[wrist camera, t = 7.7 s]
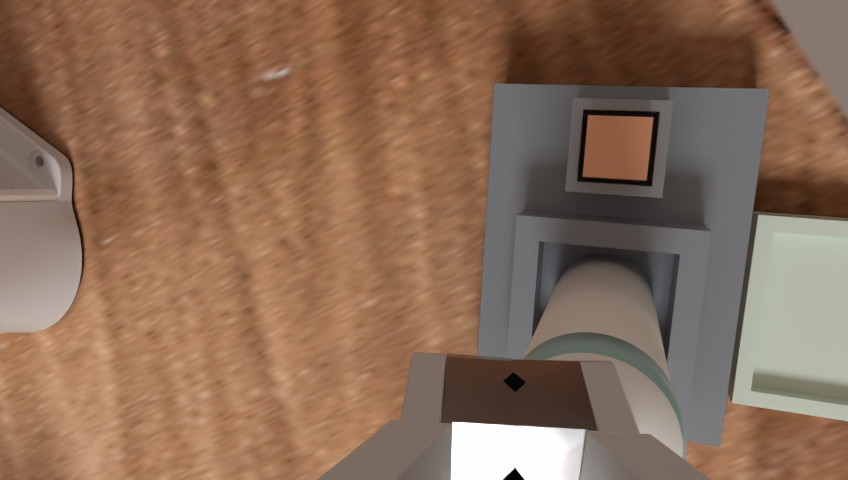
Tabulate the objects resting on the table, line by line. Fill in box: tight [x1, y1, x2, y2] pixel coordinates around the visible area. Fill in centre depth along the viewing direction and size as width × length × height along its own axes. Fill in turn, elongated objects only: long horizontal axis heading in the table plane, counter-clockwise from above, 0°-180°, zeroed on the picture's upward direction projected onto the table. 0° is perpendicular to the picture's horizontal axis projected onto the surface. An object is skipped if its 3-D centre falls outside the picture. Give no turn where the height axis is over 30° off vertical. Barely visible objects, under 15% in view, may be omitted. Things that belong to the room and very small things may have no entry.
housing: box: [477, 84, 770, 447], centre depth 32 cm, size 13×18×6 cm
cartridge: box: [523, 254, 686, 460], centre depth 24 cm, size 5×5×17 cm
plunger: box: [583, 115, 653, 181], centre depth 29 cm, size 3×3×3 cm
